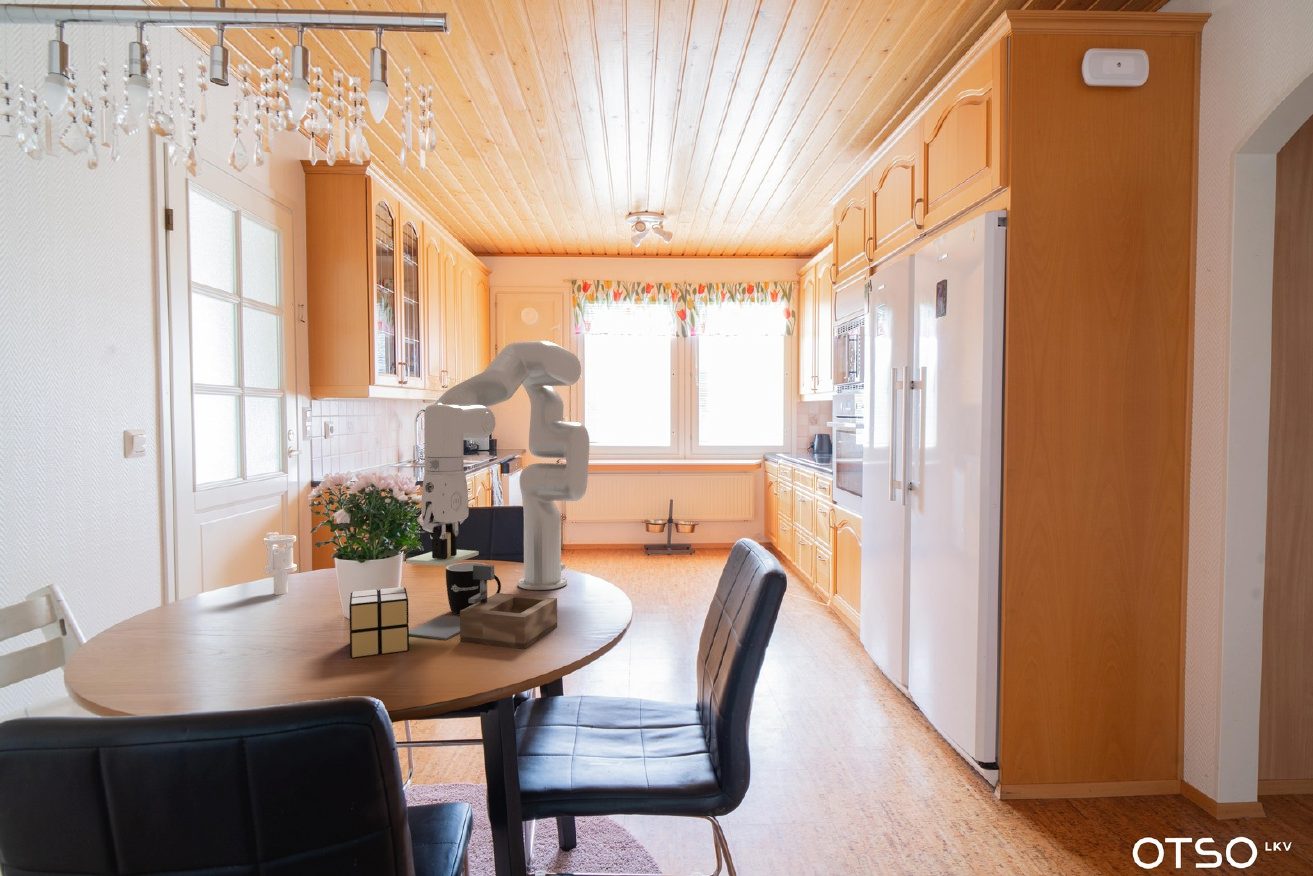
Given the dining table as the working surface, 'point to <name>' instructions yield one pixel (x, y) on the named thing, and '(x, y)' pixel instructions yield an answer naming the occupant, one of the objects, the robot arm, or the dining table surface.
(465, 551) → the cover
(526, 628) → the case
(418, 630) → the mat
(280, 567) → the white cylindrical part
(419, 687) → the dining table surface
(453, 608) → the mug
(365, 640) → the puzzle cube
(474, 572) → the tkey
